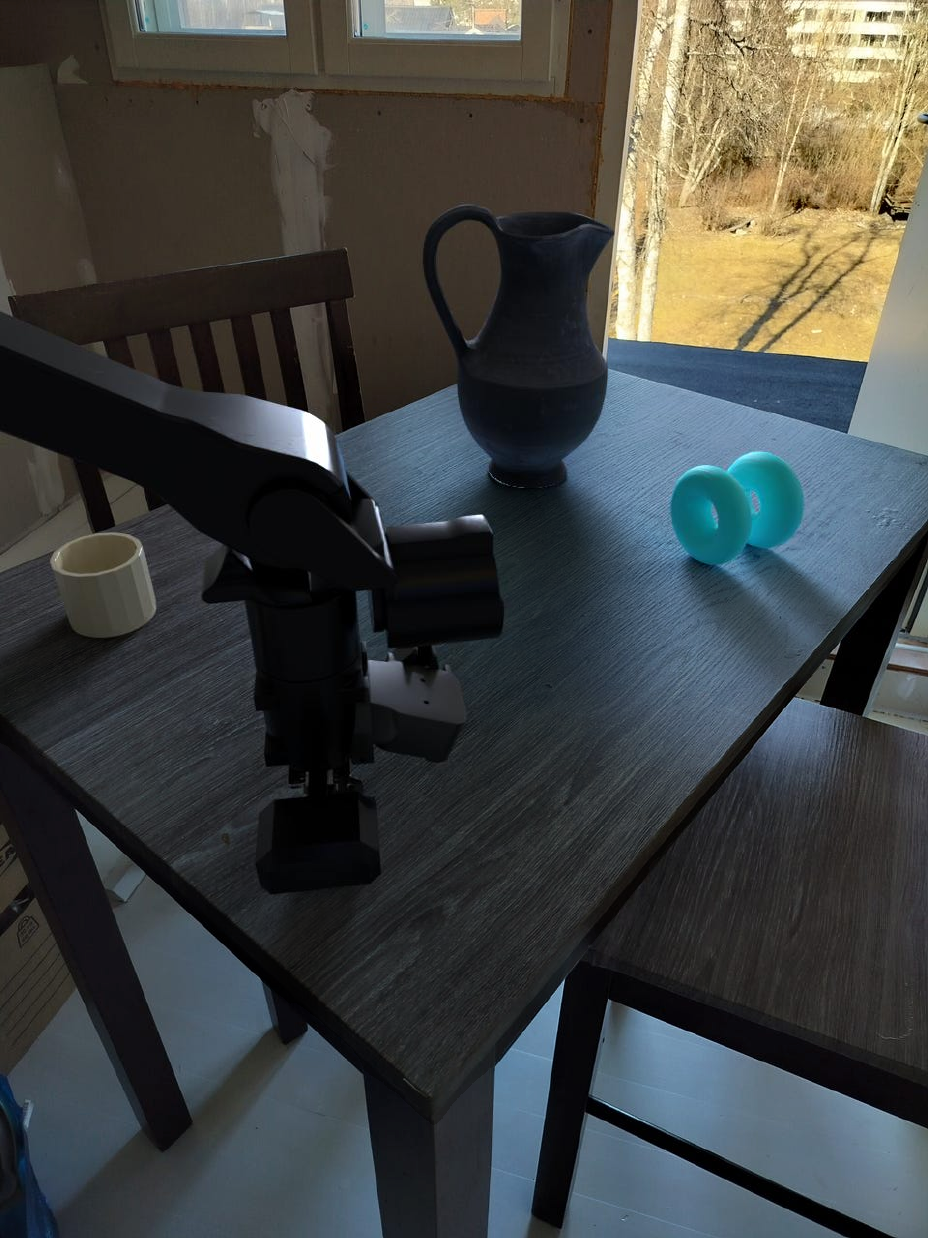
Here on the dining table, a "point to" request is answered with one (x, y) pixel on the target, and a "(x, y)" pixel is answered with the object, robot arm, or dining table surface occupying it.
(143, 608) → the cup
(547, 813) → the dining table surface
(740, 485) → the donuts
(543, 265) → the pitcher
